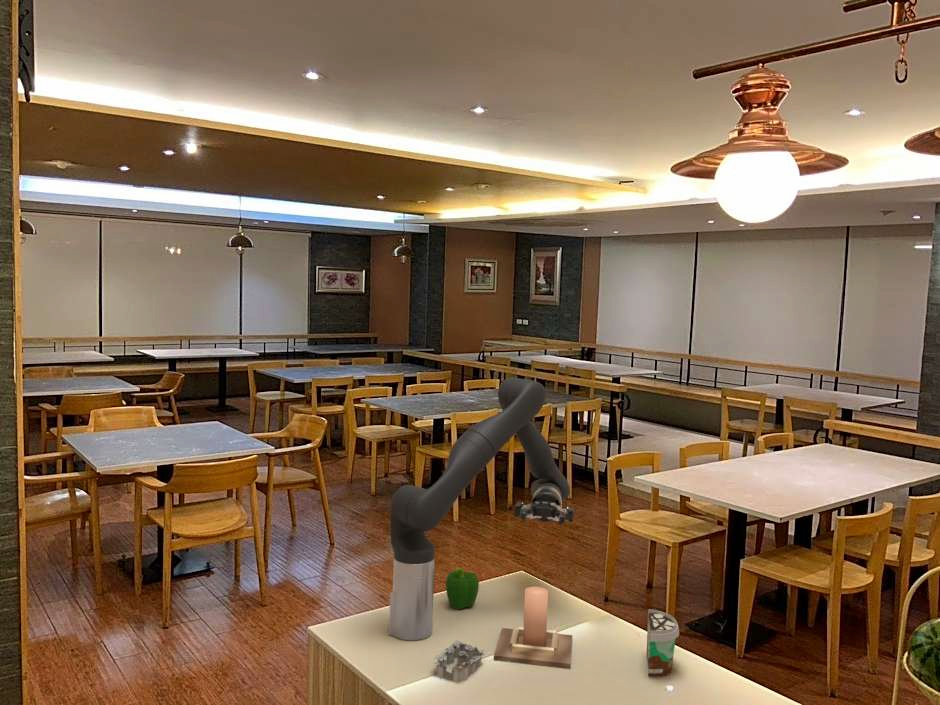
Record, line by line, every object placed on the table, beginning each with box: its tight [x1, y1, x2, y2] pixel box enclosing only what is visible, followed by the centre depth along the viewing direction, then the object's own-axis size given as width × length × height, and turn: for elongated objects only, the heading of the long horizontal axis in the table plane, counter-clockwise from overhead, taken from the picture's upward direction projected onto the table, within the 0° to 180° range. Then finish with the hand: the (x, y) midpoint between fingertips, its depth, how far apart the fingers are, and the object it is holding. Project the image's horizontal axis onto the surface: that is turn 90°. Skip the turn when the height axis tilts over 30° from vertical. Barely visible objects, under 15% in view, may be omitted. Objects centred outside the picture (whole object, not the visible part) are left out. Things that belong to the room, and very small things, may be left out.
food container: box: [646, 608, 680, 678], centre depth 152 cm, size 12×6×10 cm, turn 168°
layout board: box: [493, 626, 573, 670], centre depth 159 cm, size 16×14×2 cm
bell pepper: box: [445, 566, 480, 610], centre depth 182 cm, size 8×8×10 cm
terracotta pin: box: [523, 586, 549, 647], centre depth 159 cm, size 5×5×12 cm
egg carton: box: [433, 639, 485, 683], centre depth 149 cm, size 11×8×4 cm
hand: (542, 518), depth 170 cm, fingers open, 8 cm apart
